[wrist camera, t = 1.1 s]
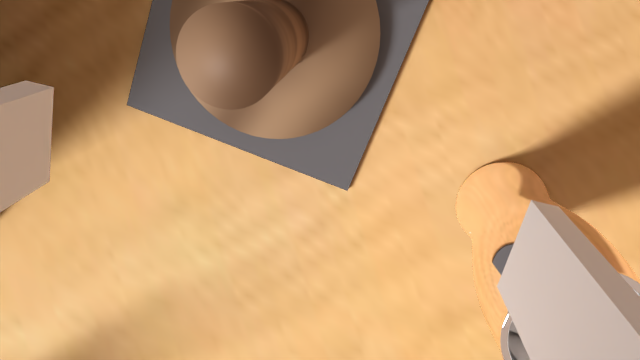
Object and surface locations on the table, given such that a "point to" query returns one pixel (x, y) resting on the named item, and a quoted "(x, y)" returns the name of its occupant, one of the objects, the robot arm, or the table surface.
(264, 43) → the lid
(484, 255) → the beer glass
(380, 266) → the table surface
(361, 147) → the mat
